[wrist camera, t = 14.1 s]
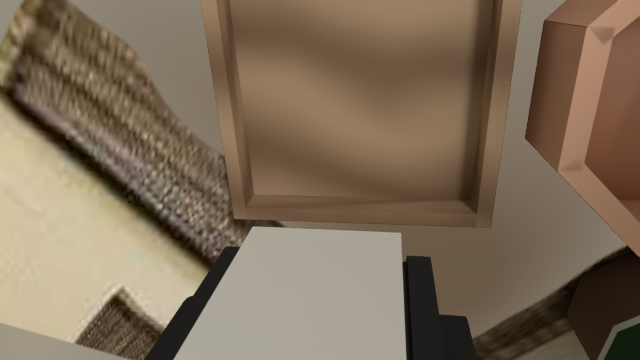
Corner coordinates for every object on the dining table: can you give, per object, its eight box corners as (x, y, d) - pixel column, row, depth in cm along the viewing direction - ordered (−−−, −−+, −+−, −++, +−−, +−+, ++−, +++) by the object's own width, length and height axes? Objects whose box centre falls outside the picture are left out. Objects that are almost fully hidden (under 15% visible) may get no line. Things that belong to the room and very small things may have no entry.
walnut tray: (197, -153, 19) (173, -172, 17) (532, -194, 17) (553, -223, 15) (246, 200, 27) (234, 218, 25) (481, 207, 24) (490, 227, 22)
